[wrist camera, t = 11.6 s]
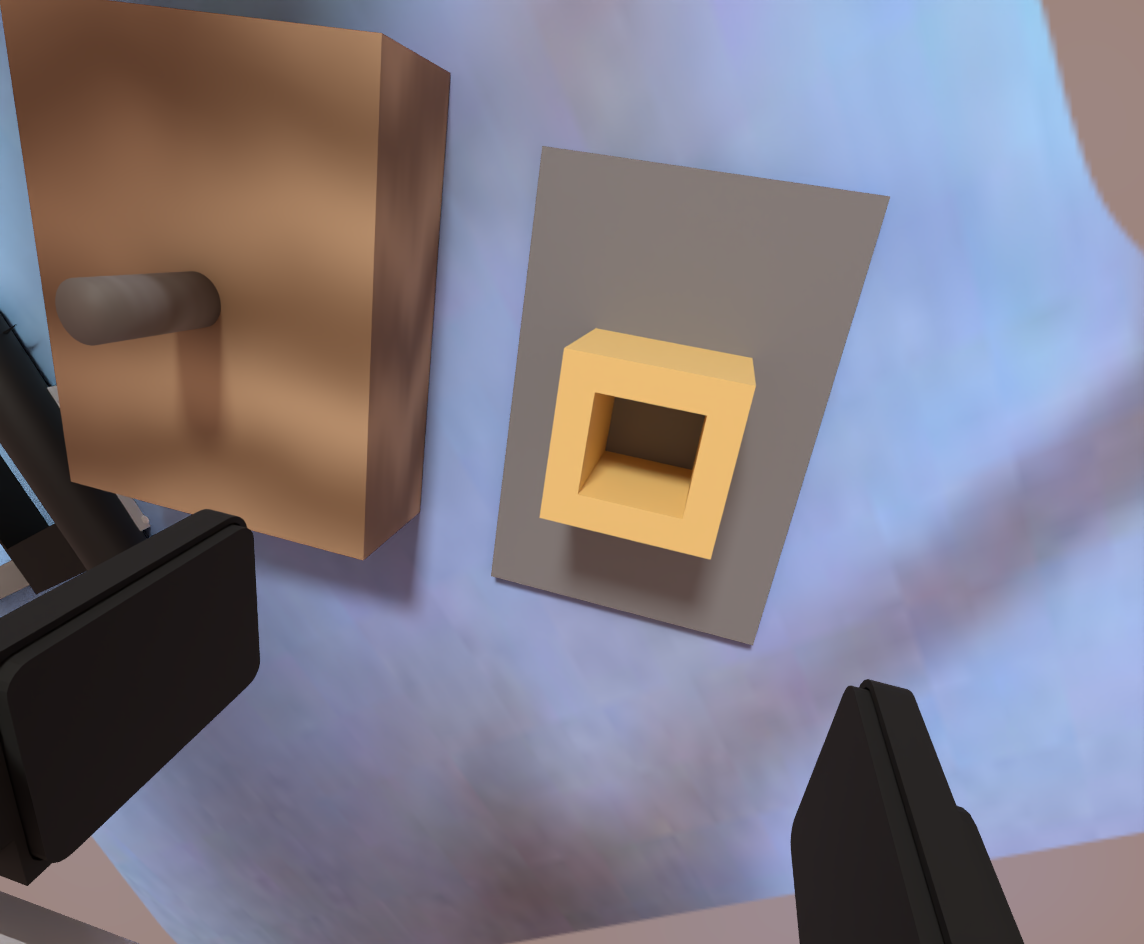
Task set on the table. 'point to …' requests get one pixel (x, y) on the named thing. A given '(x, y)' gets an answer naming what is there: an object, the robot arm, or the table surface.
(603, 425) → the collar
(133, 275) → the stand
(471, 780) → the table surface
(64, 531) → the door handle
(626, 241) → the mat
